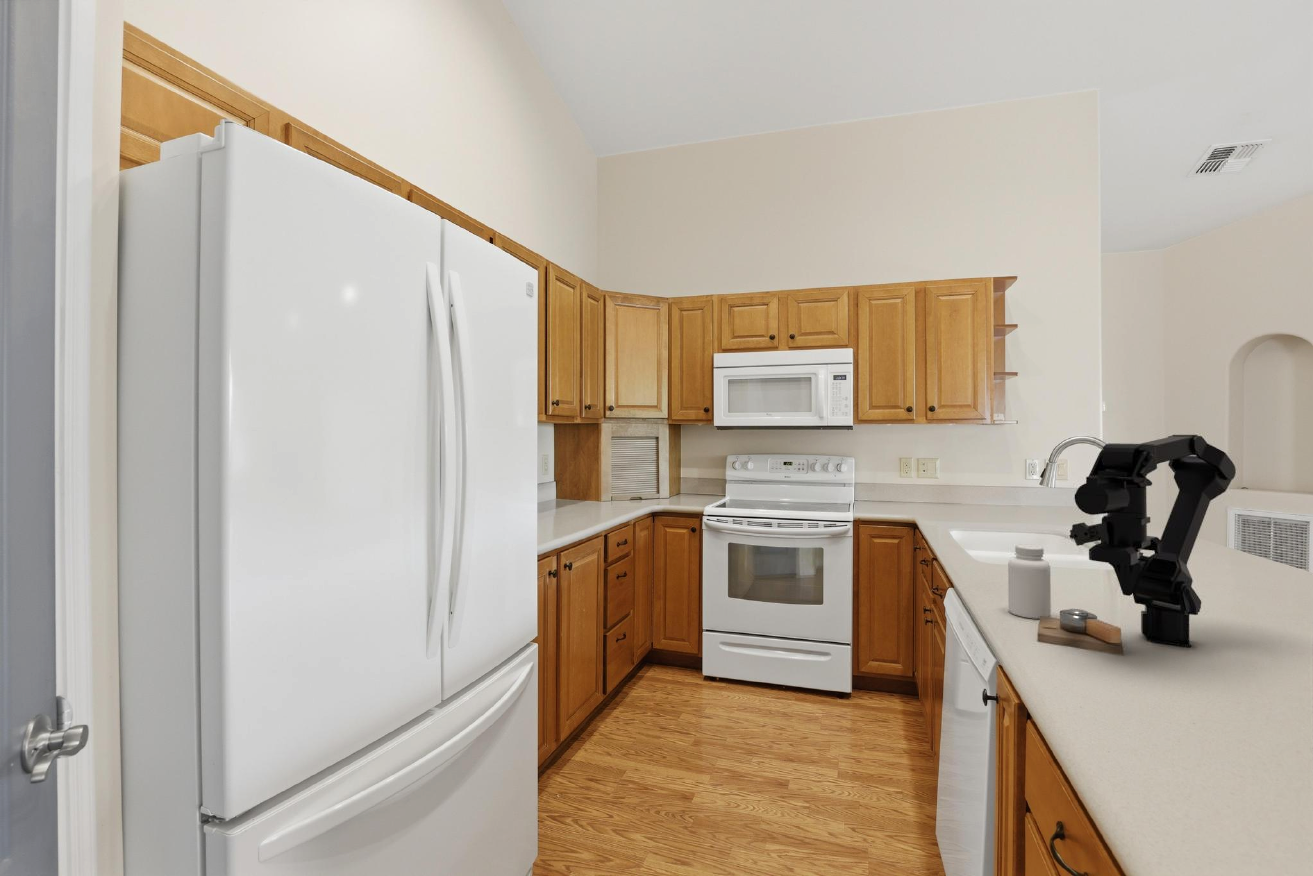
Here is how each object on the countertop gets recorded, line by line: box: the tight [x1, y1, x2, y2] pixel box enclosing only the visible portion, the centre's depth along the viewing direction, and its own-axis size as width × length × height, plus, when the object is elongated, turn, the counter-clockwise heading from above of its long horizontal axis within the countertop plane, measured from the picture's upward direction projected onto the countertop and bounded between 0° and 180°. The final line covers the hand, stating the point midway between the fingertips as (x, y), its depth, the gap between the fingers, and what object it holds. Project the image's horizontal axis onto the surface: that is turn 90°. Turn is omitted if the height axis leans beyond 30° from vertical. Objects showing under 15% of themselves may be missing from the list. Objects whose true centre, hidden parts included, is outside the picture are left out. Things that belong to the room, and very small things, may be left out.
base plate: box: [1037, 616, 1124, 656], centre depth 116 cm, size 13×13×2 cm
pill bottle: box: [1007, 544, 1052, 620], centre depth 131 cm, size 8×8×15 cm
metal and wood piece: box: [1059, 608, 1122, 643], centre depth 113 cm, size 12×6×3 cm, turn 5°
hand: (1127, 595), depth 109 cm, fingers closed
